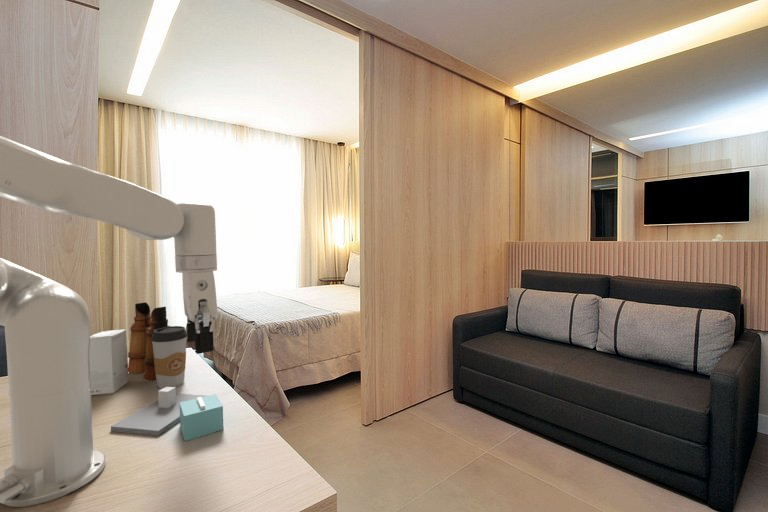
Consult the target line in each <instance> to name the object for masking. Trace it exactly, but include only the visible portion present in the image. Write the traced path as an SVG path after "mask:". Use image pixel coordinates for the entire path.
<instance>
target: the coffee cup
mask: <svg viewBox="0 0 768 512" xmlns="http://www.w3.org/2000/svg"><path fill="white" fill-rule="evenodd" d="M169 326H170V325H169ZM151 341H152V344H153V353H154V365H155V373H156V380H157V381H156V386H158V388H159V389H163V388H165V387H179V386H181V385H182V384H184V381H185V374H186V373H185V372H186V364H187V363H186V362H187V361H186V360H187V329H186V327H185V326H182V325H181V326H179V325H173V326H172V325H171V326H170V327H163V328H159V329H156V330H154V331H153V335H152V339H151ZM180 384H181V385H180ZM178 385H179V386H178Z"/></svg>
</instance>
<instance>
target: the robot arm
mask: <svg viewBox="0 0 768 512" xmlns="http://www.w3.org/2000/svg"><path fill="white" fill-rule="evenodd" d="M0 198H2V199H6V200H9V201H12V202H15V203H19V204H22V205H24V206H28V207H32V208H34V209H37V210H41V211H45V212H50V213H52V214H53V213H54V214H58V215H59V214H60V215H61V214H62V215H69V216H70V215H71V216H77V217H81V218H86V219H90V220H94V221H98V222H101V223H105V224H109V225H111V226H115V227H118V228H121V229H125V230H126V231H127V232H128V233H129V234H130V235H131V236H133V237H135V238H136V239H141V240H145V241H157V240H158V241H164V240H168V239H171V238H173V239H174V241H173V243H174V255H175V256H174V259H175V260H174V261H175V262H174V263H175V273H179V274H181V275H182V293H183V294H182V297H183V298H182V299H183V307H184V308H183V310H184V315H185V317H186V319H187V320H186V321H187V323H186V331H187V337H186V341H187V342H188V343H191V342H194V351H195V354H197V355H199V354H204V353H209V352H213V351H214V348H215V347H214V330H213V323H212V319H213V320H217V318H218V317H219V316H218V315H219V314H218V313H219V312H218V304H217V291H216V281H215V276H214V271H215V272H216V271H217V270H218V256H217V231H216V230H217V229H216V228H217V227H216V226H217V225H216V211H215V209H214V208H215V207H213V205H211V204H208V203H202V202H181V203H176V202H175V201H173V199H170V198H169V197H166V196H164V195H163V194H162V195H161V194H159V193H156V192H154V191H152V190H150V189H147V188H145V187H141V186H139V185H136V184H135V183H132V182H129V181H127V180H123V179H121V178H118V177H115V176H113V175H112V176H111V175H108V174H105V173H103V172H99V171H97V170H93V169H90V168H88V167H85V166H83V165H82V166H81V165H79V164H74V163H71V162H69V161H66V160H63V159H61V158H58V157H55V156H53V155H50V154H47V153H44V152H42V151H39V150H36V149H34V148H31V147H29V146H28V145H24V144H22V143H20V142H17V141H14V140H12V139H9V138H7V137H5V136H3V135H0ZM90 314H91V313H90V310H89V307H88V305H87V303H86V301H85V300H84V298H83V297H82V296H81V295H80V294H78V292H76V291H74V290H72V289H71V288H70V287H68V286H66V285H64V284H62V283H59V282H57V281H55V280H52V279H50V278H47V277H45V276H43V275H41V274H39V273H36V272H34V271H31V270H30V269H27V268H25V267H23V266H20V265H18V264H16V263H14V262H11V261H9V260H6V259H5V258H1V257H0V326H3V327H4V336H5V337H4V339H5V349H6V361H7V362H6V363H7V381H8V382H7V383H8V384H7V385H8V397H9V412H10V435H11V454H12V465H11V466H9V467H7V468H5V469H4V470H3V471H4V472H3V474H4V475H3V476H4V477H2V478H1V479H0V504H2V505H5V506H7V507H13V508H15V507H16V508H20V507H30V506H35V505H39V504H44V503H47V502H50V501H53V500H56V499H60V498H61V497H64V496H65V495H68V494H70V493H73V492H75V491H76V490H78V489H80V488H82V487H83V486H85V485H87V484H89V482H91V481H93V480H94V479H95V478H96V477H97V476H99V475H100V474H101V472H102V471H103V470H104V467H105V465H106V456H105V453H103V452H102V451H99V450H96V449H94V433H93V413H92V412H93V411H92V410H93V409H92V395H91V381H90V359H89V346H90V336H91V325H92V324H91V315H90Z"/></svg>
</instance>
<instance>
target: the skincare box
mask: <svg viewBox="0 0 768 512" xmlns="http://www.w3.org/2000/svg"><path fill="white" fill-rule="evenodd" d="M127 344H128V343H127V329H114V330H103V331H100V332H98V333H94V334H92V335H90V346H89V359H90V381H91V396H96V395H97V396H98V395H110V394H111V395H113V394H115V393H116V392H117V391H118V390H120V388H122V387H123V386H125V385H126V384H127V383H129V382H130V381H129V380H130V379H129V373H128V365H129V357H128V345H127Z"/></svg>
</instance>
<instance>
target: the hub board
mask: <svg viewBox="0 0 768 512" xmlns="http://www.w3.org/2000/svg"><path fill="white" fill-rule="evenodd" d="M176 387H177V386H176ZM176 387H165V388H160V389H159V390H157V391H158V392H157V393H158V398H157V399H156V400H154V401H153V402H151V403H149V404H148V405H145V406H144V407H142V408H140V409H138V410H137V411H135V412H133V413H132V414H130V415H128V416H126V417H124V418H123V419H122V420H119V421H118V422H116V423H114V424H112V425H111V426H110V431H111V432H117V433H127V434H136V435H137V434H138V435H147V436H157V437H159V436H160V435H162V434H164V433H165V432H166V431H168V430H170V428H172V427H173V426H175V425H176V424H178V423H180V402H185V401H189V400H193V399H197V398H198V397H206V396H207V395H203V394H190V393H178V392H177V388H176ZM176 392H177V393H176Z"/></svg>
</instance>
